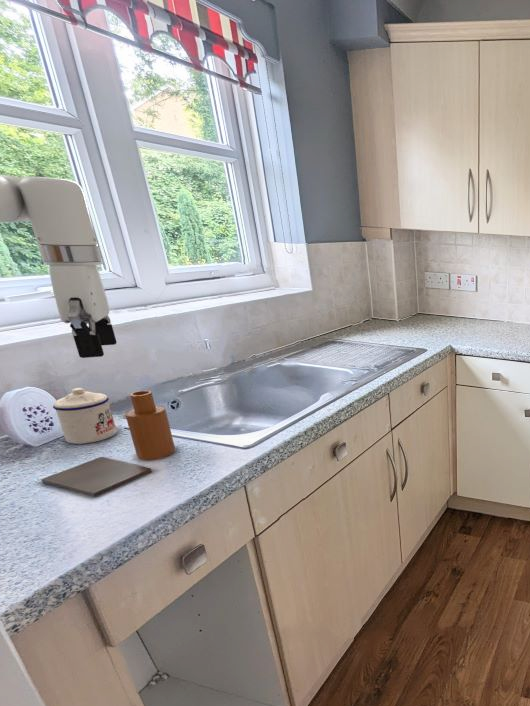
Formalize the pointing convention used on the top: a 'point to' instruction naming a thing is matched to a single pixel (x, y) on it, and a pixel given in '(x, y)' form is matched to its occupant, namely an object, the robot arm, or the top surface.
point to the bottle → (149, 427)
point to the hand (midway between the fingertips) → (99, 350)
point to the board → (96, 476)
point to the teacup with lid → (85, 416)
